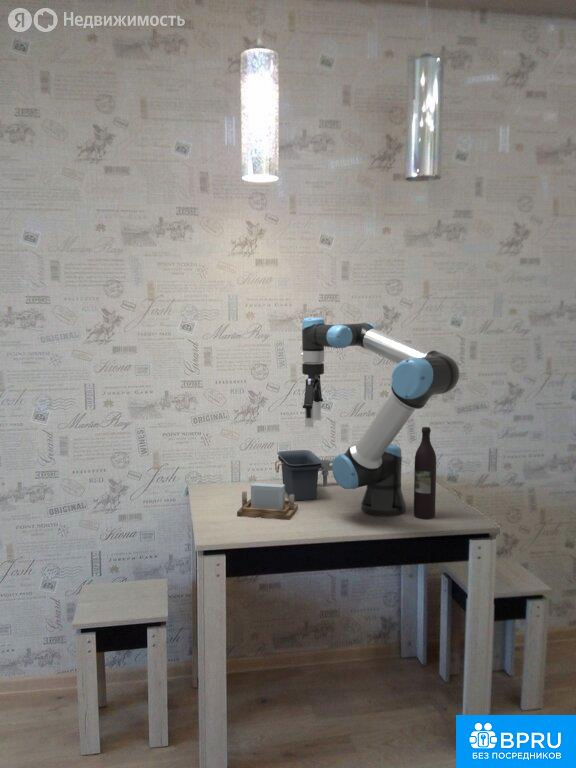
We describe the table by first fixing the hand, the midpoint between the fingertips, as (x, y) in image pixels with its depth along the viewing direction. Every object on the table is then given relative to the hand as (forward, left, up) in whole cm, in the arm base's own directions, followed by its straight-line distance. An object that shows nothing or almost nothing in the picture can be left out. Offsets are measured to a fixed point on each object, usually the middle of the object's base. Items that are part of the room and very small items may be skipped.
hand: (313, 423), depth 261 cm
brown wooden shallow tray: (+13, +13, -29) cm, 34 cm away
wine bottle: (-39, +6, -29) cm, 49 cm away
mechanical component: (0, -24, -29) cm, 38 cm away
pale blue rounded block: (+13, +13, -27) cm, 33 cm away
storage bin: (+8, -10, -29) cm, 32 cm away
